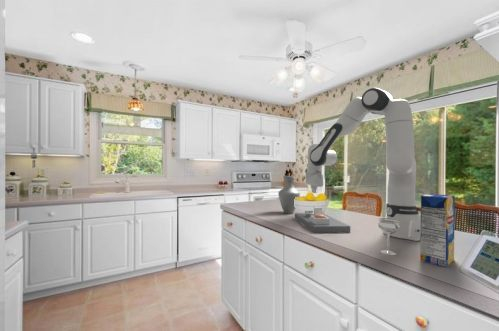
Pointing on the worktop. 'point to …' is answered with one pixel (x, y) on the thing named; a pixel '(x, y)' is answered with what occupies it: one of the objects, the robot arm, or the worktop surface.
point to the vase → (288, 195)
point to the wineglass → (388, 230)
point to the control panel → (322, 223)
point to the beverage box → (437, 229)
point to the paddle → (317, 210)
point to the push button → (319, 216)
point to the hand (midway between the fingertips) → (313, 192)
